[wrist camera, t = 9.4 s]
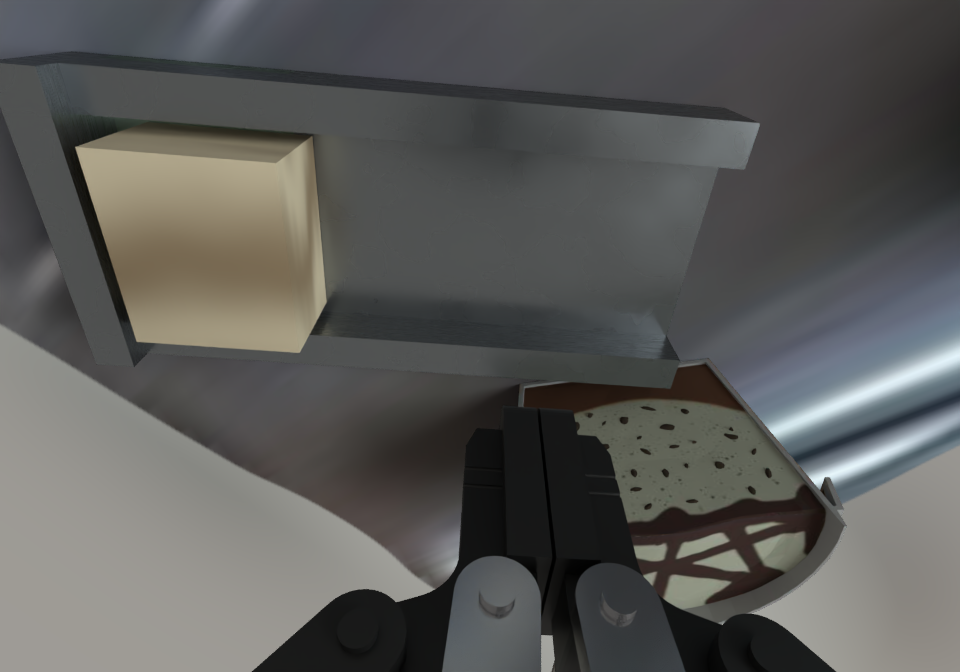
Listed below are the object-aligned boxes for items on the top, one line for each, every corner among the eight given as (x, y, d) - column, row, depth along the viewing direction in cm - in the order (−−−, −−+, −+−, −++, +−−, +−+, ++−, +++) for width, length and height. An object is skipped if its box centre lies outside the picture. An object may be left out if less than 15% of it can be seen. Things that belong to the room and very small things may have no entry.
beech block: (146, 121, 19) (75, 147, 16) (312, 135, 20) (276, 163, 16) (187, 292, 23) (136, 341, 20) (326, 302, 23) (299, 353, 20)
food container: (508, 472, 30) (517, 654, 22) (490, 387, 27) (493, 562, 19) (730, 445, 29) (832, 627, 21) (739, 354, 26) (864, 524, 17)
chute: (72, 51, 19) (-17, 61, 16) (724, 108, 20) (774, 129, 17) (149, 315, 25) (96, 364, 22) (652, 350, 26) (677, 403, 22)
